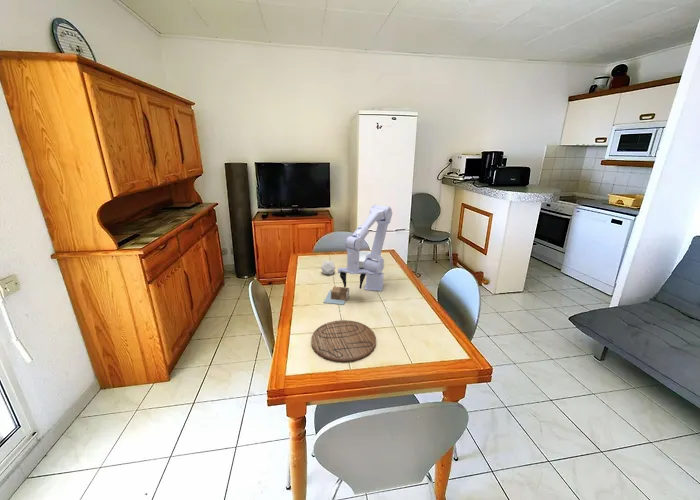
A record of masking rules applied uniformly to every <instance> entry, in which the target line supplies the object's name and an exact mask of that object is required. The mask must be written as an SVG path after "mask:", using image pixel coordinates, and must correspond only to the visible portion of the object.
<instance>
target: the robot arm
mask: <svg viewBox="0 0 700 500" xmlns="http://www.w3.org/2000/svg"><path fill="white" fill-rule="evenodd" d="M392 216H393V211H392V208H391V206H386V205H379V204H373V205H372V206H370V209H369V214H368V216H367V218H366V219H365V220H364V222H363V224H360V225H358V227H357V228H356V229H355V230H354V231H353V233H352V235H350V236H347V237H346V238H345V240H344V247H345V251H346V256H347V258H346V261H347V262H346V265H347V266H346V267H338V269H337V273H338V274H339V276H340V278H341V281H342V284H343V287H346V288H347V274H349V275H354V274H355V275H359V289H362V287H363V282H364V281H365V285H364V288H363V289H364V290H366V291H367V290H368V291H376V292H383V288H384V285H385V283H384V276H385V272H383V271H384V268H385V267H384V266H385V265H384V263H385V259H384V258H383V256H382V257H381V255H382V251H383V246H384V243H385V239H386V235H387V231H388V227H389V224H391V221H392ZM375 223H376V224H377V227H376V231H375V234H374V240H373V243H372V247H371V250H370V251H371V253H370V254H369V255H367V256H366V258H365V260H364V262H363V268H359V251H360V249H361V248H362V246H363V243H364V240H365V239H366V237H367V236H368V235H369V232H370V231H369V230H370V228H371V227H372V226H373V225H374V224H375ZM372 259H375V260H377V261H375V260H372Z"/></svg>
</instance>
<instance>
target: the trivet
mask: <svg viewBox="0 0 700 500" xmlns="http://www.w3.org/2000/svg"><path fill="white" fill-rule="evenodd" d="M310 341H311V347H312V350H313V352H314V353H316V355H318V357H320V358H323V359H324V360H327V361H330V362H334V363H351V362H356V361H357V362H358V361H360V360H363V359H365V358H367V357H368V356H369V355H370V354H372V352H374V349H376V345H377V344H376V343H377V342H376V341H377V336H376V334H375V332H374V331H373V330H372V329H371V327H369V326H367V325H366V324H364V323H361V322H360V321H354V320H345V319H343V320H333V321H330V322H326V323H324V324H322V325H320V326H319V327H317V328H316V329H315V330H314V331H313V332H312V334H311V339H310Z"/></svg>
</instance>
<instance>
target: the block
mask: <svg viewBox="0 0 700 500" xmlns="http://www.w3.org/2000/svg"><path fill="white" fill-rule="evenodd" d="M331 290H332V291H331V299H336V300H346V301H348V299H349V297H350V287H347V286H346V287H344V286H333V287H332V289H331Z"/></svg>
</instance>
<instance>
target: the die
mask: <svg viewBox="0 0 700 500" xmlns="http://www.w3.org/2000/svg"><path fill="white" fill-rule="evenodd" d="M320 268H321V270H322V273H323V275H326V276H327V275H331V276H332V275H334V272H335V269H336V266H335V263H334V261H333V260H323V262H322V265H321V267H320Z"/></svg>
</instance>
